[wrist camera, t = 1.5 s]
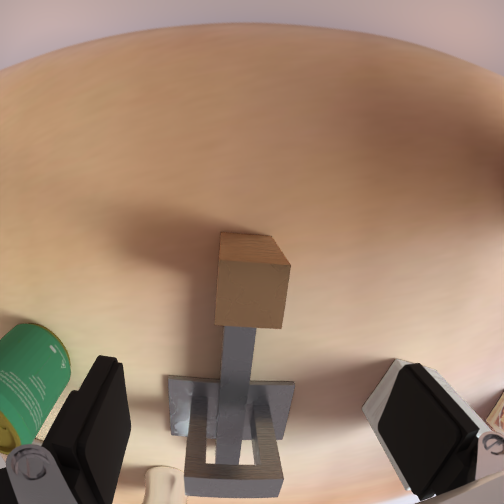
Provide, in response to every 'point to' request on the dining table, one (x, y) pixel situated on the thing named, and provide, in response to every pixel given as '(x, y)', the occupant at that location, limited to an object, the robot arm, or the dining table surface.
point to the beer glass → (164, 486)
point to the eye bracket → (255, 428)
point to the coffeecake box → (497, 416)
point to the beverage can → (29, 382)
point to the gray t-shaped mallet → (244, 324)
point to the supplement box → (380, 398)
